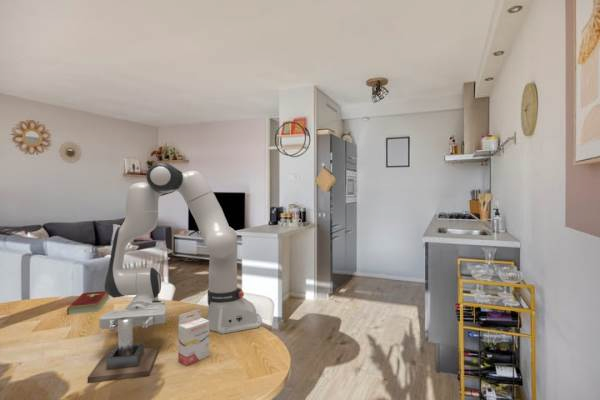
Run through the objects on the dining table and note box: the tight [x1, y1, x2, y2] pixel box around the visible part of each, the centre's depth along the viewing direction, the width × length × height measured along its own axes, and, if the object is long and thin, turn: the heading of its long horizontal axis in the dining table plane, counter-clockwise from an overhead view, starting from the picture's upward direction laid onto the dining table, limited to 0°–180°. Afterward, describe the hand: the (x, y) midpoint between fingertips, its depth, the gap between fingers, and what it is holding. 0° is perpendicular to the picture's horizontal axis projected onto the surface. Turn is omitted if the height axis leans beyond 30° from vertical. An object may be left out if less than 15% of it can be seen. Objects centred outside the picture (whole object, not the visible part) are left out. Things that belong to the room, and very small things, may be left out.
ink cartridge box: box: [177, 308, 210, 367], centre depth 107 cm, size 9×5×15 cm, turn 141°
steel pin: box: [117, 317, 134, 357], centre depth 103 cm, size 4×4×13 cm
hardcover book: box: [66, 290, 110, 316], centre depth 157 cm, size 12×21×4 cm, turn 18°
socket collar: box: [106, 343, 145, 370], centre depth 103 cm, size 8×8×3 cm
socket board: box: [86, 346, 160, 384], centre depth 103 cm, size 16×15×2 cm
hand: (128, 327), depth 105 cm, fingers open, 8 cm apart
